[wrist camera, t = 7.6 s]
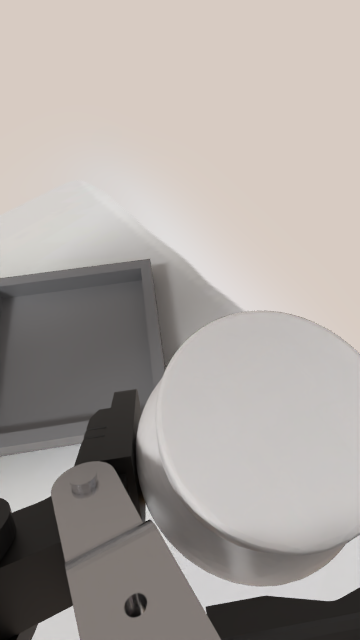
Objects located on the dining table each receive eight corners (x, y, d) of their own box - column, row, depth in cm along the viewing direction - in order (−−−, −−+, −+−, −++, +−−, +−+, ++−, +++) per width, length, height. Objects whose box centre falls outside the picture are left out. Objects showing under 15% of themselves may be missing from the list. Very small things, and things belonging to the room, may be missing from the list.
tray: (-30, 460, 26) (-49, 455, 24) (-3, 295, 35) (-16, 280, 32) (172, 429, 27) (171, 421, 25) (152, 274, 35) (150, 259, 33)
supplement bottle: (317, 498, 13) (532, 455, 5) (207, 595, 12) (260, 758, 4) (231, 390, 16) (284, 240, 7) (131, 459, 14) (57, 368, 6)
